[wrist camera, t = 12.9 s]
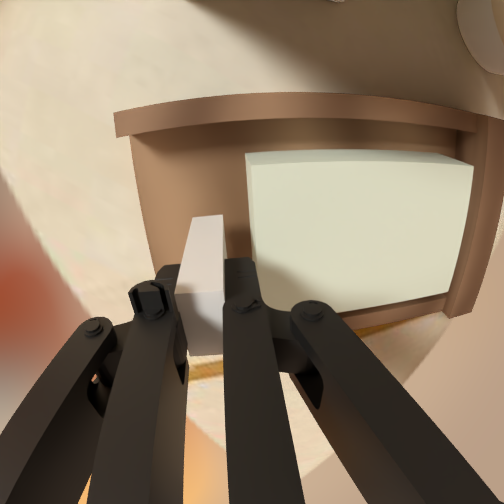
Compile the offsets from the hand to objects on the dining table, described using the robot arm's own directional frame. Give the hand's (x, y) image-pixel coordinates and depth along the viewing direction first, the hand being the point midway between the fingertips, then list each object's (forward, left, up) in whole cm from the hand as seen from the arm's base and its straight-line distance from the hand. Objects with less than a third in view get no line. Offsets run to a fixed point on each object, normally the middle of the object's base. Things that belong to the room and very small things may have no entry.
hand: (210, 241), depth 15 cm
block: (-1, +2, 0) cm, 2 cm away
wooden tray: (-4, +6, -3) cm, 8 cm away
